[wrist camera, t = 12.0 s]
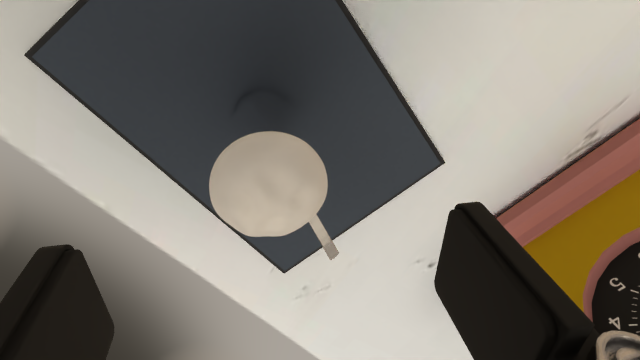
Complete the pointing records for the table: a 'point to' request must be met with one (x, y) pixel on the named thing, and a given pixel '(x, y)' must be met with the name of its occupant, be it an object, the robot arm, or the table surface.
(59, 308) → the robot arm
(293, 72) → the mouse pad
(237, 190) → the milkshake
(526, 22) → the table surface
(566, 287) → the clock
